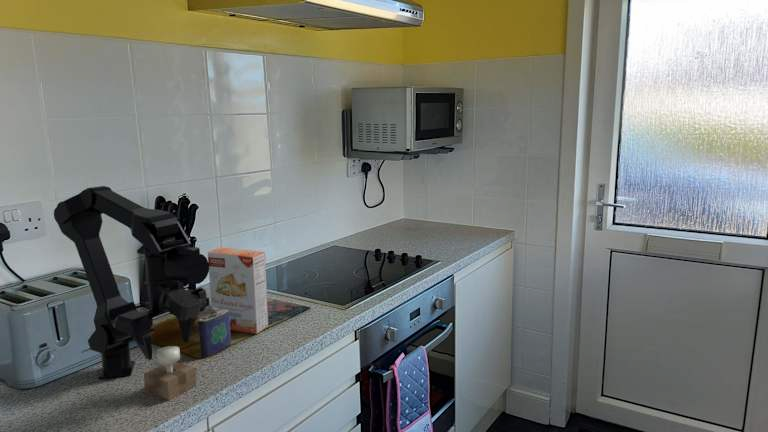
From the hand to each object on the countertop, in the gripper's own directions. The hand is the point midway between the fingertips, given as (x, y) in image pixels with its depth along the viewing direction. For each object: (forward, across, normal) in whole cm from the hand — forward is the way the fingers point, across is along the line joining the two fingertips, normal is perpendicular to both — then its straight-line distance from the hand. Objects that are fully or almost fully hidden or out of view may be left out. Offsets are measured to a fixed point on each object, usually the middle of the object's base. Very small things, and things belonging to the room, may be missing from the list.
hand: (168, 350), depth 113 cm
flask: (+9, +18, +6) cm, 21 cm away
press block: (+8, 0, 0) cm, 8 cm away
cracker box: (+9, +32, +11) cm, 35 cm away
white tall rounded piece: (+8, 0, 0) cm, 9 cm away
